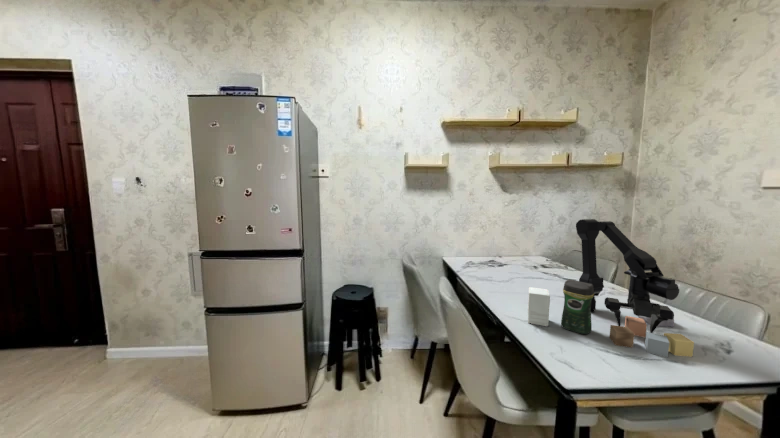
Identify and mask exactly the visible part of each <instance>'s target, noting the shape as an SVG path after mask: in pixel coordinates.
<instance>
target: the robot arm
mask: <svg viewBox="0 0 780 438" xmlns="http://www.w3.org/2000/svg"><path fill="white" fill-rule="evenodd" d="M575 229H576V234H577V236H578V237H579V238H580V241H581V258H582V259H581V261H582V273H581V275H580V276H579V278H578V279H579V280H578V281H580V282H585V283H590V284H593V288H594V296H593V298H592V300H591V313H595V310H596V304H597V300H596V297H598V296H599V295H600V293H601V292H603V288H605V285H604V277H600V275H599V274H598V271H597V270H598V269H597V268H598V267H597V246H596V240H597V237H598V236H599V234H600V232H602V233H603V234H604V235H605V237H607V239H608V240H609V241H610V242H611V243H612V244H613V245H614V246H615V248H617V249H618V251H619V252H620V253H621V254H622V255H623V261H624V262H625V264H626V266H627V267H628V268H629V269H628V270H626V271H624V272H623V274H625V275H628V276H629V283H628V285H629V286H628V289H627V290H628V293H627V299H626V300H627V302H621V301H620V299H618V298H615V297H605V298H604V306H605V308H606V309H607V310H609V311H610V312H613V314H614V317H615V320H616V323H617V326H622V324H621V323H622V321H621V313H622V312H621V308H622V309H628V310H632V313H633V314H634V315H635V316H637V317H638V316H645V317H648V318H650V317H652V318H651V324H650V325H649V332H650V333H654V332H655V330H656V329H657V327H659V326H658V325H659V324H660V323H661V322H662V321H668V319H671V320H673V319H674V320H675V312H674V311H673V310H672V309H671V308H670V307H669V306H667V305H660V303H655V302H651V296H650V294H651V295H654V296H658V297H660V298H663V299H666V300H668V301H673V300H675V299H677V298H678V296H679V293H680V288H679V286H678V284H677V283H676V279H674V278H668V277H664V274H663V272H662V271H661V269H660V267H659V266H658V264H657V260H656V258H654V256H652V255H651V254H649V253H648V252H647V251H645V250H643V249H641V248H639V247H637V246H636V245H635V244H634V243H633V242H632V241H631V240H630V239H629V238H628V237H627V236H626V235H625V234H624V233H623V232H622V231H621V230H620V229H619V228H618V227H617V226H616V223H615V222H614V221H611V220H609V221H599V220H597V219H595V218H592V219H591V218H589V219H587V218H586V219H579V220H578V221H577V222H576V223H575Z"/></svg>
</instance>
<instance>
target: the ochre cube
mask: <svg viewBox="0 0 780 438" xmlns="http://www.w3.org/2000/svg"><path fill="white" fill-rule="evenodd" d="M663 336H667V338H668V341H669V350H668V353H670V354H671V355H674V356H675V357H676V356H679V357H690V358H691V357H693V354H694V347H695V341H693V340H692V339H690V338H688V337H687V336H685V335H683V334H682V333H672V332H671V333H669V332H663Z"/></svg>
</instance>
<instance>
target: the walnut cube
mask: <svg viewBox="0 0 780 438" xmlns="http://www.w3.org/2000/svg"><path fill="white" fill-rule="evenodd" d="M609 339H610V341H611V342H612V343H613V345H614V346H619V347H625V348H631V349H633V348H634V343H635V335H634V333H633V332H632V331H631V330H630V329H629V328H628V327H625V325H623V326H622V325H621V326H618V325H616V324H615V325H614V324H610V327H609Z"/></svg>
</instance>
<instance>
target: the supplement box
mask: <svg viewBox="0 0 780 438" xmlns="http://www.w3.org/2000/svg"><path fill="white" fill-rule="evenodd" d="M550 303H551V294H550V292H549V289H545V288H539V287H532V286H531V287H530V286H529V287H528V302H527V315H526V316H527V324H530V323H531V324H532V325H537V326H541V327H542V326H544V327H549V319H550V307H551V306H550Z"/></svg>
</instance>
